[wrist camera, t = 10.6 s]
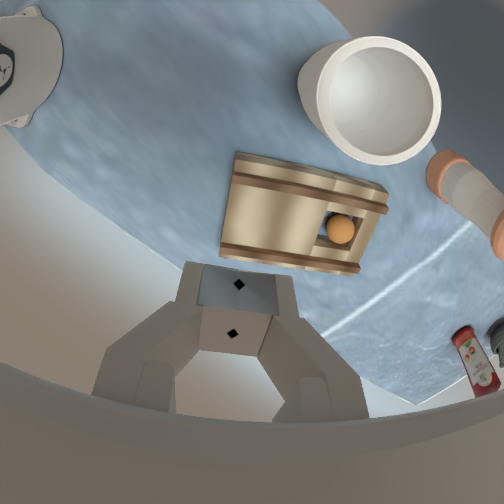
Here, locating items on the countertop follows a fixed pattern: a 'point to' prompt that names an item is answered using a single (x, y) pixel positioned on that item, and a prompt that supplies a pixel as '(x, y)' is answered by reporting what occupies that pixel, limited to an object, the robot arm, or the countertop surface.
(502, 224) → the pepper shaker
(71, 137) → the countertop surface
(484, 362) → the liquor
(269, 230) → the lane board
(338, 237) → the ball
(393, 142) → the jar
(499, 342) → the mortar and pestle
